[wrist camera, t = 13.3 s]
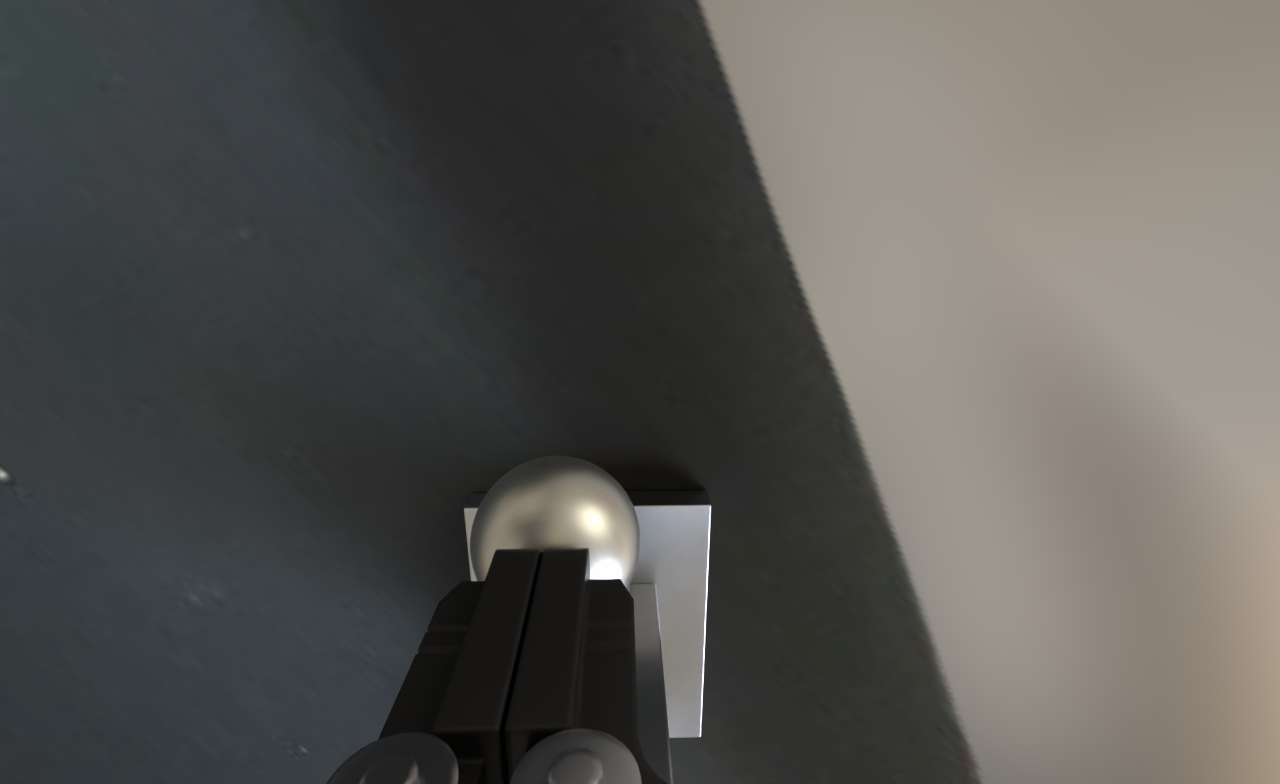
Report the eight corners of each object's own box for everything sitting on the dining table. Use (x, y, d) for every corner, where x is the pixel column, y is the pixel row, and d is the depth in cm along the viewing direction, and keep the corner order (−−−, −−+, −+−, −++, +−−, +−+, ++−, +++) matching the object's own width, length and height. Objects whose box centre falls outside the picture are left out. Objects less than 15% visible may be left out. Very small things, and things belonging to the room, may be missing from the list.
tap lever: (484, 433, 13) (441, 502, 10) (638, 431, 13) (643, 499, 10) (518, 889, 16) (494, 1047, 13) (637, 886, 16) (641, 1041, 13)
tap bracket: (470, 492, 23) (300, 829, 11) (707, 489, 23) (801, 815, 11) (492, 718, 26) (381, 1168, 14) (697, 714, 27) (761, 1152, 14)
